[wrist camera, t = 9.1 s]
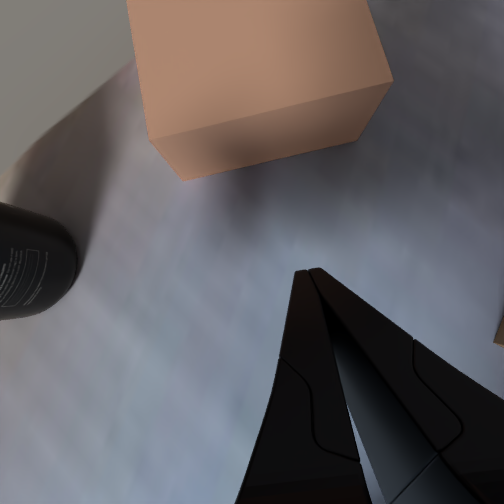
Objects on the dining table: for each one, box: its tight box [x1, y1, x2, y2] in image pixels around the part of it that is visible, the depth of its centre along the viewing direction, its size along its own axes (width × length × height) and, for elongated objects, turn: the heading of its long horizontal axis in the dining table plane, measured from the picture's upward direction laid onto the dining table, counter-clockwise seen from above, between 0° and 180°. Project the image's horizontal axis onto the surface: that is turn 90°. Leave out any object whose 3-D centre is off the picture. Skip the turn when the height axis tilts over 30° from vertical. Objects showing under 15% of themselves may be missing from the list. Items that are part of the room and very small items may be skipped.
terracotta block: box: [126, 0, 394, 181], centre depth 15 cm, size 5×12×9 cm
